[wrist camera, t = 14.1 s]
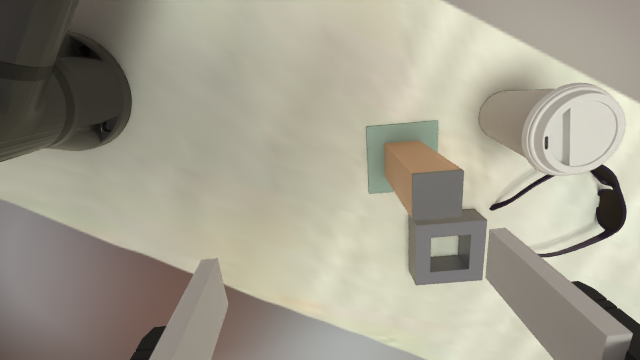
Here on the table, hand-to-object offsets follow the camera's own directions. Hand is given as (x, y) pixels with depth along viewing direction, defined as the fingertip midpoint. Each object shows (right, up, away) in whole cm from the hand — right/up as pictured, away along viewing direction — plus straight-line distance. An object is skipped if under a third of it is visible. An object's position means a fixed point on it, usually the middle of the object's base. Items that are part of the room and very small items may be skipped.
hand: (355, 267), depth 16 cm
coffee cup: (+24, +13, +31) cm, 41 cm away
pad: (+10, +7, +32) cm, 35 cm away
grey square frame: (+17, -5, +36) cm, 41 cm away
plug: (+10, +7, +32) cm, 34 cm away
